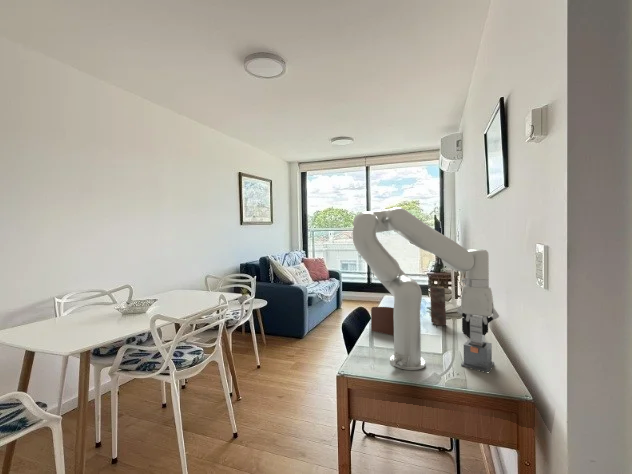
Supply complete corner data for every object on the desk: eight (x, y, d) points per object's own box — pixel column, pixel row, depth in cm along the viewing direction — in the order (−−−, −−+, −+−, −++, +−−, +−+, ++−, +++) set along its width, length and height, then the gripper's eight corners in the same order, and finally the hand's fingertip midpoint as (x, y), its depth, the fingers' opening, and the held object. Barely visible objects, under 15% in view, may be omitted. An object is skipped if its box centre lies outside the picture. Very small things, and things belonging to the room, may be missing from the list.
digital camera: (484, 338, 144) (484, 323, 143) (472, 339, 144) (472, 323, 144) (473, 331, 154) (473, 317, 154) (462, 331, 154) (462, 317, 154)
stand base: (488, 373, 109) (488, 350, 109) (460, 366, 115) (460, 345, 115) (494, 364, 116) (494, 343, 116) (468, 358, 122) (467, 338, 122)
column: (482, 357, 113) (482, 318, 112) (469, 354, 115) (469, 316, 115) (485, 353, 116) (485, 316, 116) (473, 351, 119) (472, 314, 119)
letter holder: (411, 341, 142) (411, 310, 142) (370, 334, 153) (370, 305, 153) (417, 335, 151) (417, 305, 150) (378, 328, 162) (378, 301, 161)
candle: (428, 324, 167) (427, 286, 167) (435, 321, 172) (434, 284, 171) (442, 327, 161) (441, 288, 161) (448, 324, 166) (448, 286, 166)
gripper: (449, 282, 118) (450, 331, 118) (501, 287, 107) (501, 340, 107) (456, 279, 123) (456, 326, 124) (505, 283, 113) (505, 334, 113)
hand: (477, 332), depth 116 cm, fingers closed on column, 4 cm apart
